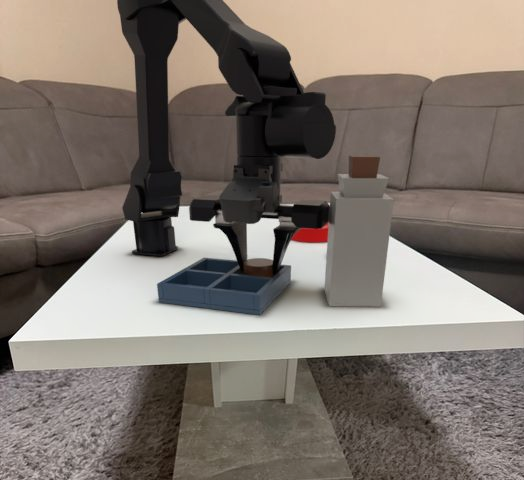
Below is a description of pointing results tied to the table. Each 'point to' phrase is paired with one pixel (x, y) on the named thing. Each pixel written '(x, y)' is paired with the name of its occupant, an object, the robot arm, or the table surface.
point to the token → (259, 267)
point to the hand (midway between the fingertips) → (259, 272)
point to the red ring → (312, 235)
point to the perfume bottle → (358, 235)
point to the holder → (222, 287)
